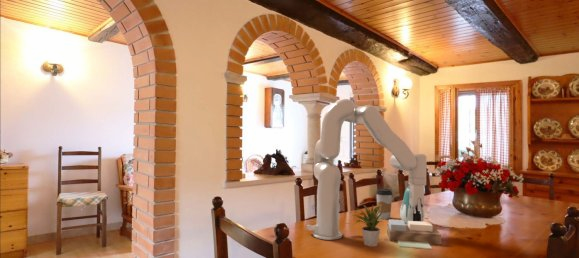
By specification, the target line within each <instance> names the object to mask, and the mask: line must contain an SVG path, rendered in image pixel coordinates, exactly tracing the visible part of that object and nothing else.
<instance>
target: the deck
mask: <svg viewBox="0 0 579 258" xmlns="http://www.w3.org/2000/svg"><path fill="white" fill-rule="evenodd" d="M405 225H406V231H391V229H390V227H389V223H387V226H386V229H387V230H386V231H387V232H386V233H387V236H388V239H389V241H390V242H397V241H410V242H425V243H429V245H439V246H441V245H442V234H441V233H440V231H438V230H437V228H436V227H434V226H432V232H431V231H415V230H410V229H409V228H408V224H405Z"/></svg>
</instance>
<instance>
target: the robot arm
mask: <svg viewBox="0 0 579 258" xmlns="http://www.w3.org/2000/svg"><path fill="white" fill-rule="evenodd" d="M344 122H349V123H352V124H358V125H363V126H364V127H365V129H367V131H368V132H369V134H370V135H371V137H372V138H373V140H374V141H375V142H376V143H377V144H378V145H380V146H382V148H383V147H384V148H385V149H387V151H389V152H390V153H391V154H392V155H391V156H390V158H389V163H390V165H391V167H392V168H394V169H396V170H399V171H403V172H408V185H409V187H410V195H409V204H410V205H411V206H412V207H413V221H420V222H421V208H424V207H425V186H427V162H428V160H427V155H426V154H424V153H413V151H412V150H411V148H410V147H409V146H408V144H407V143H406V142H405V141H404V140H403V139H401V137H399V136H398V135H397V134H396V133H395V131H393V130H392V128H391V127H390V125H389V124H388V123H387V121H386V119H385V118H384V117H383V116H382V114H381V112H380V111H379V110H378V108H377V107H376V106H375V105H372V104H365V105H358V104H355V103H354V101H353V100H351V99H348V98H343V99H340V100H337V101H335V102H334V103H332V105H331V106H330V107H329V109H328V110H327V111H326V113H325V114H324V116H323V120H322V123H321V133H320V139H318V140H317V141H316V143H315V146H314V151H313V165H312V166H313V169H312V170H313V176H314V177H315V179H316V180H317V182H318V183H317V189H316V223H315V224H313V225H312V224H306V230H308V231H313V232H312V236H313V237H315V238H316V239H318V240H319V239H320V240H326V241H334V240H340V239H341V238H342V237H343V233H342V232H341V231H339V230H340V229H339V227H340V226H339V225H340V224H339V223H340V187H341V179H342V175H341V170H340V168H339V166H337V165H336V164H335V159H336V158H338V157H339V155H340V153H341V137H342V136H341V133H342V127H343V124H344Z"/></svg>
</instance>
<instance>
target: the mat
mask: <svg viewBox="0 0 579 258" xmlns="http://www.w3.org/2000/svg"><path fill="white" fill-rule="evenodd" d="M396 242H397V244H398V246H399V248H410V249H421V250H422V249H423V250H433V248H432V246H431V244H429V243H425V242H410V241H396Z"/></svg>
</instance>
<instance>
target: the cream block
mask: <svg viewBox="0 0 579 258" xmlns="http://www.w3.org/2000/svg"><path fill="white" fill-rule="evenodd" d="M407 225H408V228H409V229H410V230H415V231H431V232H432V227H433V225H432V223H431V222H430V221H423V222H420V221H408V224H407Z"/></svg>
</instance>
